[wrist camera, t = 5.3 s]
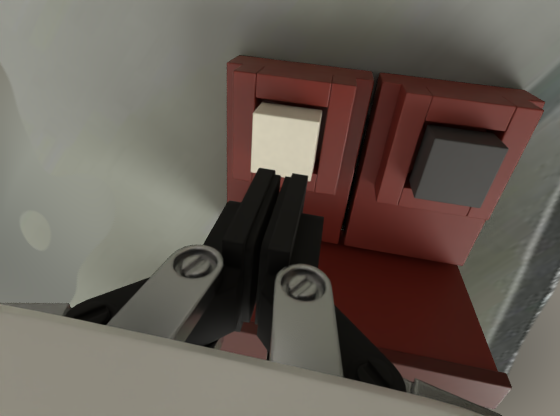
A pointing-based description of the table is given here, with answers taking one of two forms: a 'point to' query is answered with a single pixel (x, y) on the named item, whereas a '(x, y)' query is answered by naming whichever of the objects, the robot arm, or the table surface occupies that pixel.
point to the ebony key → (456, 165)
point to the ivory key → (285, 139)
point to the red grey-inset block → (402, 154)
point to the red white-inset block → (332, 135)
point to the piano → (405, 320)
